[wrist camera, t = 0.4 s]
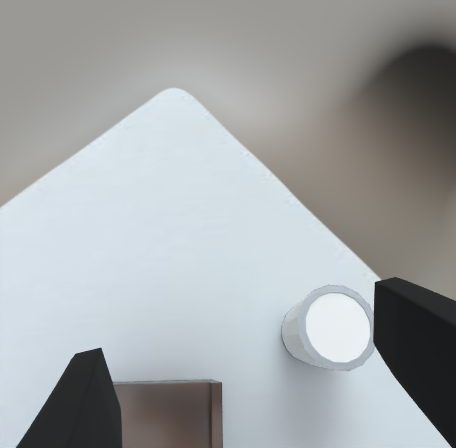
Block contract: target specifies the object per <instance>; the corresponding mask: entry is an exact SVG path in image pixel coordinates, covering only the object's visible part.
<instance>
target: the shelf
mask: <svg viewBox="0 0 456 448" xmlns="http://www.w3.org/2000/svg"><path fill="white" fill-rule="evenodd" d="M113 385H114V389H115V392H116V395H117V398H118V401H119V404H120V407H121V419H122V447H123V448H223V432H222V382H218V381H215V380H212V379H211V380H174V381H136V382H113Z"/></svg>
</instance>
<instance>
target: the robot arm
mask: <svg viewBox="0 0 456 448" xmlns="http://www.w3.org/2000/svg"><path fill="white" fill-rule="evenodd" d="M373 343H374V345H375V347H376V348H377V350H378V352H379V353H380V355H381V357H382V358H383V360H384V362H385V363H386V365H387V366H388V368H389V369H390V371H391V372H392V374H393V375H394V377H395V378H396V379H397V381H398V382H399V383H400V384H401V386H402V387H403V388H404V389H405V391H406V392H407V393H408V394H409V396H410V397H411V398H412V399H413V401H414V402H415V403H416V404H417V405H418V407H419V408H420V409H421V410H422V412H423V413H424V414H425V415H426V416H427V418H428V419H429V420H430V421H431V423H432V424H433V425H434V426H435V427H436V429H437V430H438V431H439V432H440V434H441V435H442V436H443V437H444V438H445V440H446V441H447V442H448V443H449V445H450V446H451V447H452V448H456V301H454V300H452V299H449V298H447V297H445V296H443V295H440V294H438V293H435V292H433V291H431V290H428V289H426V288H423V287H421V286H418V285H416V284H413V283H411V282H408V281H406V280H403V279H400V278H397V277H394V278H390V279H386V280H381V281H377V282H375V293H374V326H373ZM16 448H123V447H122V419H121V407H120V404H119V401H118V398H117V395H116V392H115V389H114V385H113V382H112V379H111V376H110V373H109V370H108V367H107V364H106V361H105V358H104V355H103V352H102V349H101V348H98V349H93V350H89V351H85V352H81V353H77V354H75V355H74V357H73V358H72V359H71V361H70V363H69V364H68V366H67V368H66V369H65V371H64V373H63V374H62V376H61V378H60V380H59V381H58V383H57V385H56V386H55V388H54V389H53V391H52V393H51V394H50V396H49V398H48V399H47V401H46V403H45V404H44V406H43V407H42V409H41V410H40V412H39V414H38V415H37V417H36V418H35V420H34V421H33V423H32V424H31V426H30V428H29V429H28V431H27V432H26V434H25V435H24V437H23V438H22V440H21V441H20V443H19V444H18V445H17V447H16Z"/></svg>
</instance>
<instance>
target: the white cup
mask: <svg viewBox="0 0 456 448" xmlns="http://www.w3.org/2000/svg"><path fill="white" fill-rule="evenodd" d="M373 326H374V314H373V312H372V309H371V307H370V305H369V304H368V303H367V302H366V301H365V300H364V299H363V298H362V297H361V296H360V295H359V293H357V292H355V291H353V290H351V289H349V288H347V287H345V286H339V285H326V286H324V287H321V288H318V289H316V290H314V291H313V292H311V293H310V294H309V295H308V296H307V297H305V298H304V299H303V300H302V301H301V302H299V303H298V304H297V305H296V306H295V307H293V309H292V310H291V311H290V312H289V313H288V314H287V315H286V316H285V319H284V321H283V324H282V339H283V341H284V344H285V346H286V349H287V350H288V351H289V352H290V353H291V354H292V355H293V356H294V357H295V358H297V359H299V360H301V361H303V362H305V363H308V364H312V365H315V366H319V367H322V368H326V369H330V370H337V371H350V370H352V369H354V368H356V367H359V366H361V365H363V364H364V363H365V362H366V361H367V359H368V358H369V357H370V356H371V355H372V353H373V352H374V349H375V345H374V343H373Z"/></svg>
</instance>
